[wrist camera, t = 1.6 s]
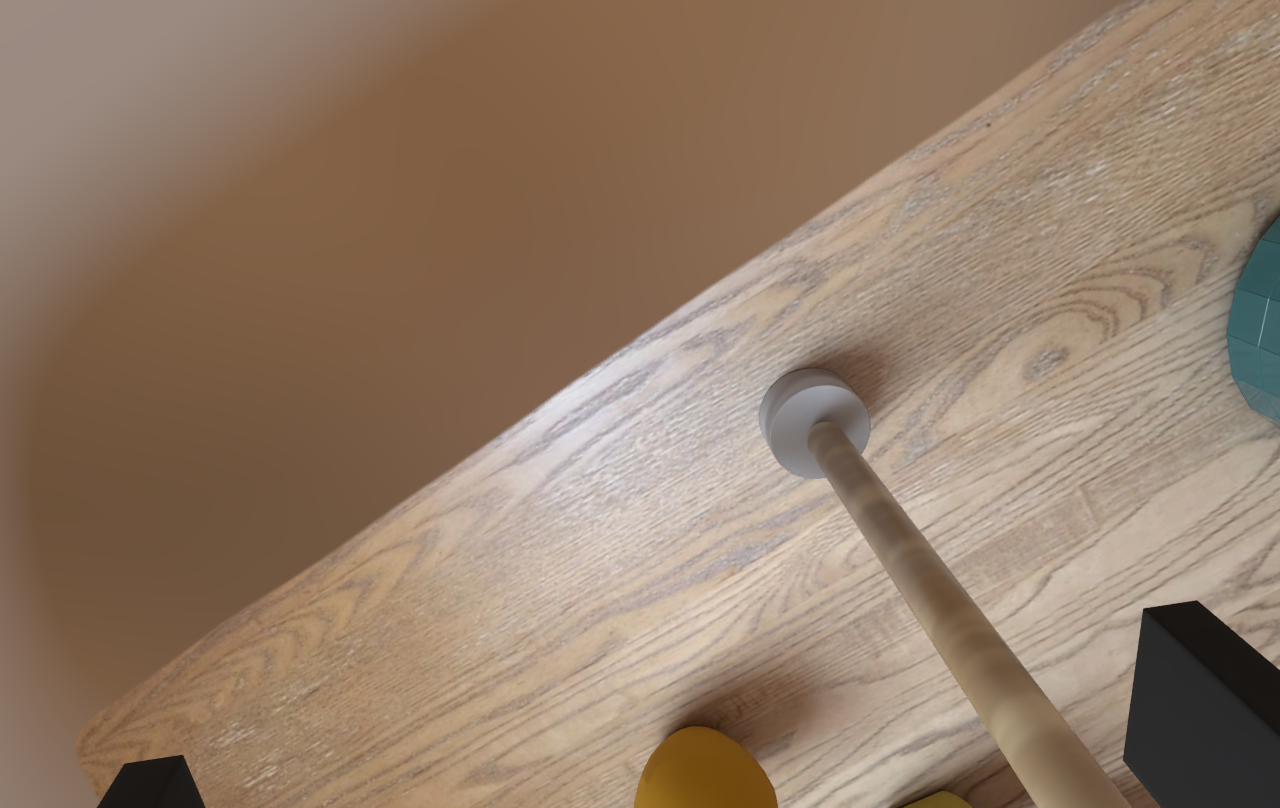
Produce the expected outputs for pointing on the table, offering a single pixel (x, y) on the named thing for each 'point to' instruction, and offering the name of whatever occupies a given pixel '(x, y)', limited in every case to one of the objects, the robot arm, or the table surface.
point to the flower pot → (940, 801)
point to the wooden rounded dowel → (932, 591)
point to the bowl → (1258, 328)
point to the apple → (703, 774)
